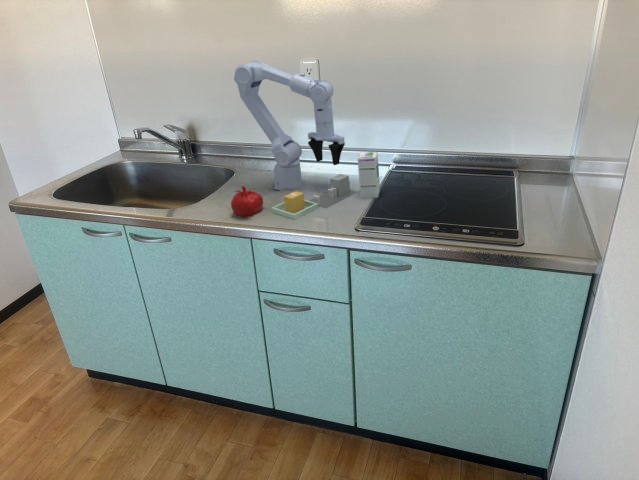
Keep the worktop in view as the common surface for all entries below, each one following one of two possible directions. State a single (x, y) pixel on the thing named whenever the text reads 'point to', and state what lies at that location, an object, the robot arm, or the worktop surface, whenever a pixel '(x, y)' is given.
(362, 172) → the syrup box
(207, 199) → the worktop surface
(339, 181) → the grey rectangular block
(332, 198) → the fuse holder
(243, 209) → the pomegranate
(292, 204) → the block
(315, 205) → the tray
